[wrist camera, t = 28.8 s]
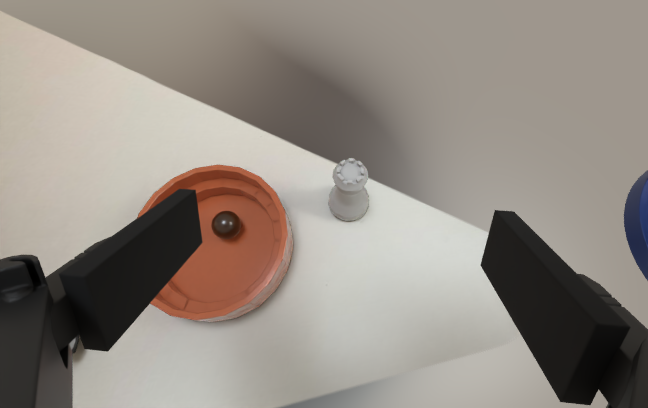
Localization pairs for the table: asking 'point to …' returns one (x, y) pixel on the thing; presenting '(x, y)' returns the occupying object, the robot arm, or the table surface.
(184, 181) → the bowl
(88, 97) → the table surface
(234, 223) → the bead
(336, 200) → the rook chess piece
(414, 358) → the table surface
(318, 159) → the table surface
